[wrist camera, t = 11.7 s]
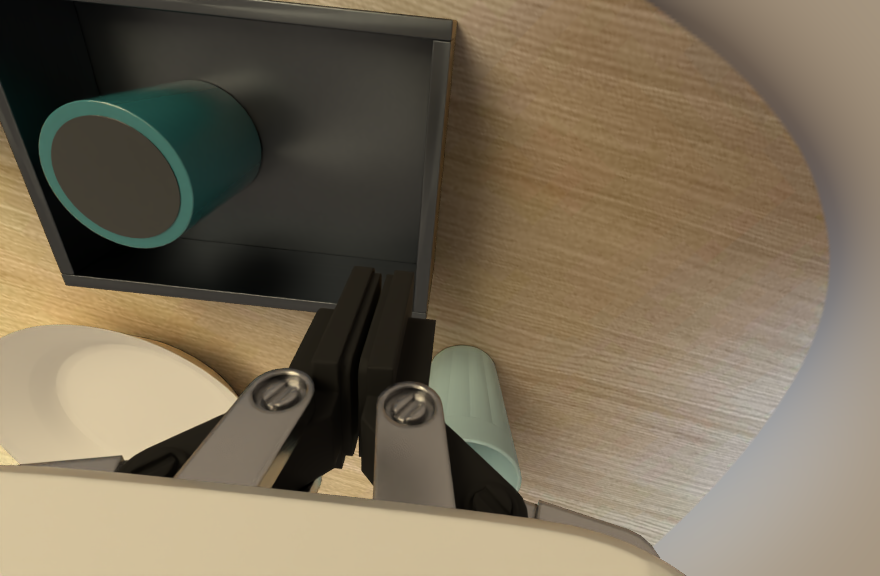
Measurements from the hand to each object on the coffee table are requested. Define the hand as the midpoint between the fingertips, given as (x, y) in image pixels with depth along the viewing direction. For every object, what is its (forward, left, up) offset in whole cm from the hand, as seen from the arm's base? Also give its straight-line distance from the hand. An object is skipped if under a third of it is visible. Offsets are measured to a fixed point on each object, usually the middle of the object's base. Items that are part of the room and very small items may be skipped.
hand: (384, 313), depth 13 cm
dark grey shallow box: (+1, -10, -18) cm, 20 cm away
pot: (+1, -14, -17) cm, 22 cm away
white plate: (+27, -24, -18) cm, 40 cm away
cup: (+18, +4, -18) cm, 26 cm away
